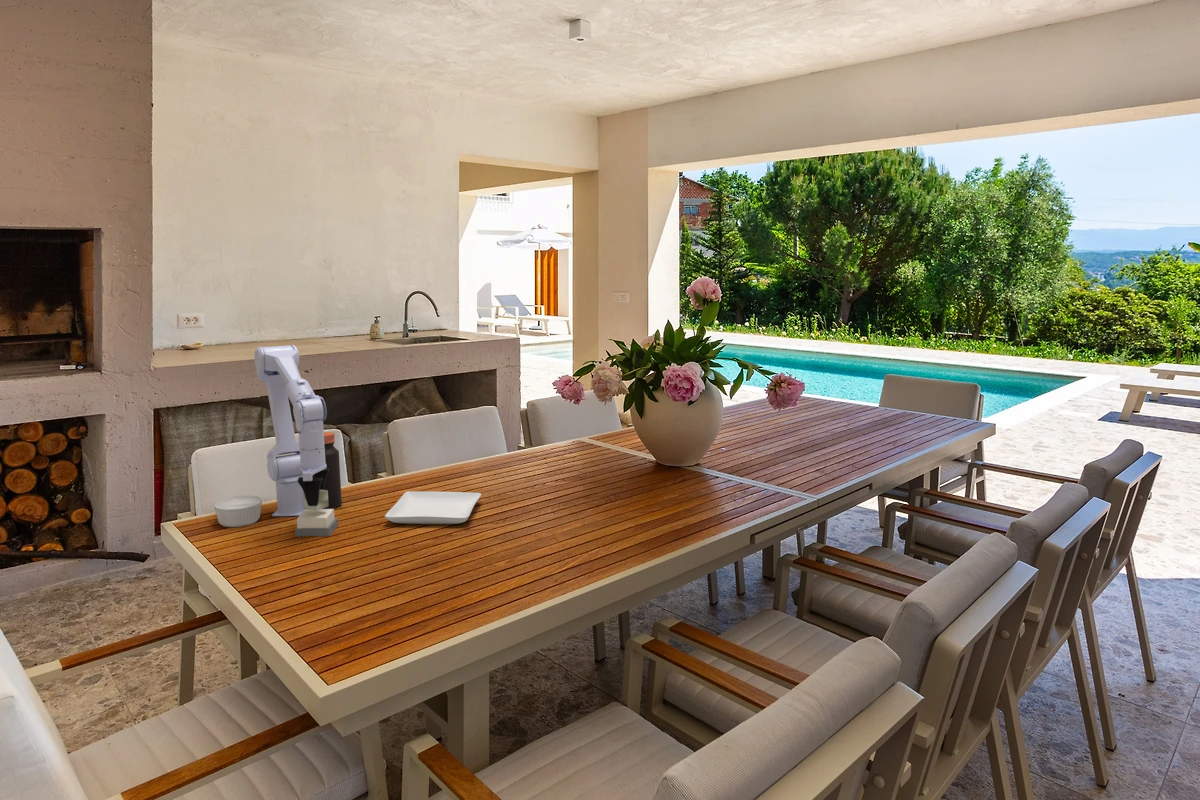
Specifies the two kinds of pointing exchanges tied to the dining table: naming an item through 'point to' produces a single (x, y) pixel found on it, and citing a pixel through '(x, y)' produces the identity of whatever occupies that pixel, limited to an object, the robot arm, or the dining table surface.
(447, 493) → the salad plate
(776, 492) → the dining table surface
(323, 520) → the cream slab
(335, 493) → the bottle
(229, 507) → the ramekin
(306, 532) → the charcoal slab
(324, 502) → the sage cube
